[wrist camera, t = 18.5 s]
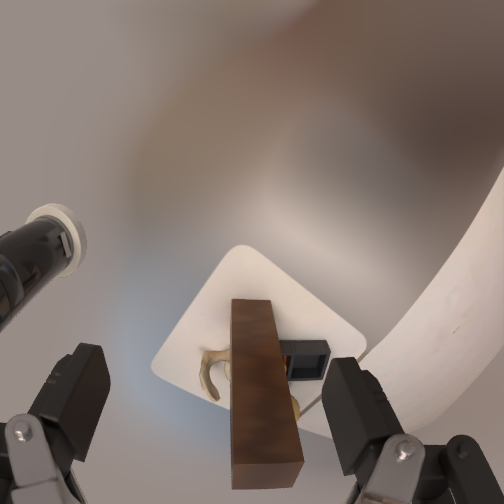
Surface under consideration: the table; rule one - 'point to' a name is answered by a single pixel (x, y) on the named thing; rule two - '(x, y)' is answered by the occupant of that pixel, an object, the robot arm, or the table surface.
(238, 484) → the block
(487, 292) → the table surface
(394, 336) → the table surface
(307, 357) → the dark grey open box
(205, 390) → the bone
